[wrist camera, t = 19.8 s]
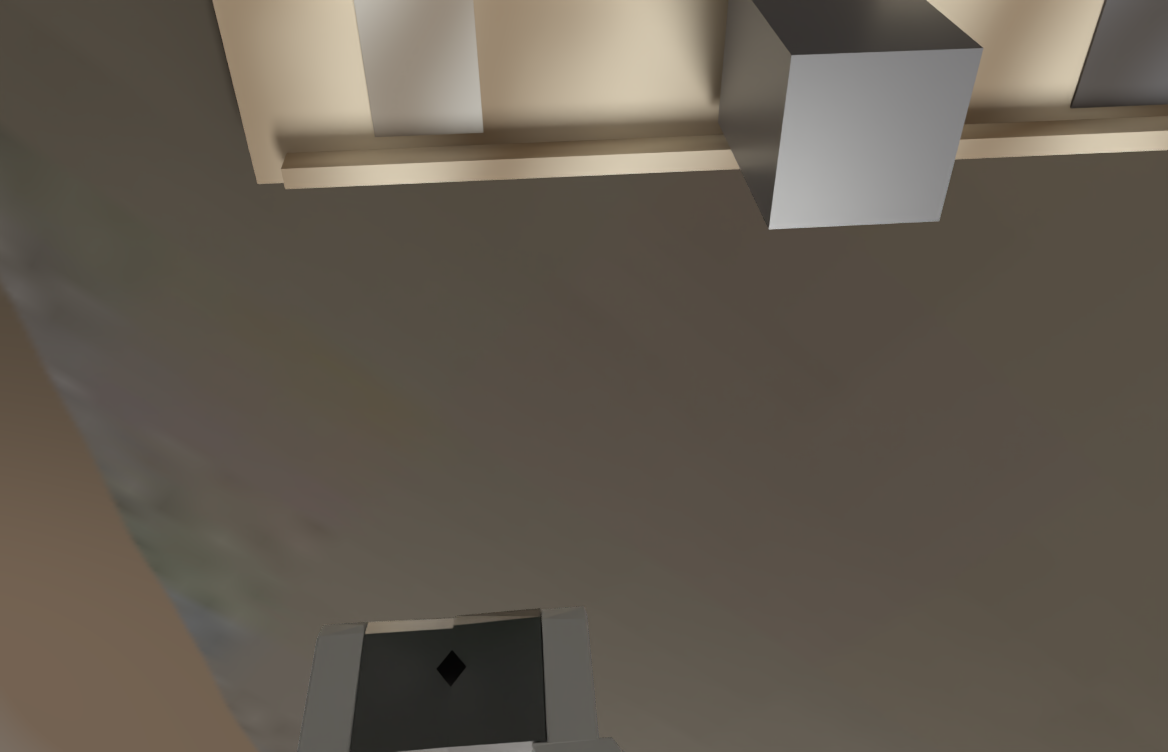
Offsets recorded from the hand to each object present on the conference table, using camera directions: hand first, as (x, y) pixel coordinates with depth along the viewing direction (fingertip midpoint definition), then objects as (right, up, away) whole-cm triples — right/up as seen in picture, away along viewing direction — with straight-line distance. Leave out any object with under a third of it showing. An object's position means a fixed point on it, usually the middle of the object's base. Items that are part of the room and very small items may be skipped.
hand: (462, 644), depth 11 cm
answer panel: (+7, +13, +16) cm, 22 cm away
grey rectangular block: (+7, +12, +14) cm, 20 cm away
